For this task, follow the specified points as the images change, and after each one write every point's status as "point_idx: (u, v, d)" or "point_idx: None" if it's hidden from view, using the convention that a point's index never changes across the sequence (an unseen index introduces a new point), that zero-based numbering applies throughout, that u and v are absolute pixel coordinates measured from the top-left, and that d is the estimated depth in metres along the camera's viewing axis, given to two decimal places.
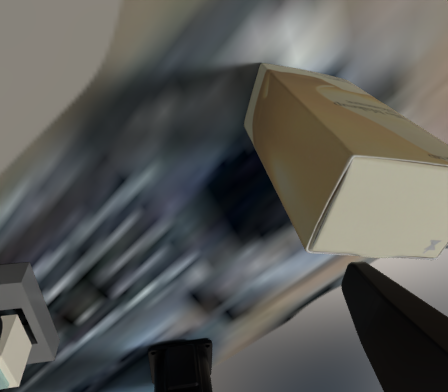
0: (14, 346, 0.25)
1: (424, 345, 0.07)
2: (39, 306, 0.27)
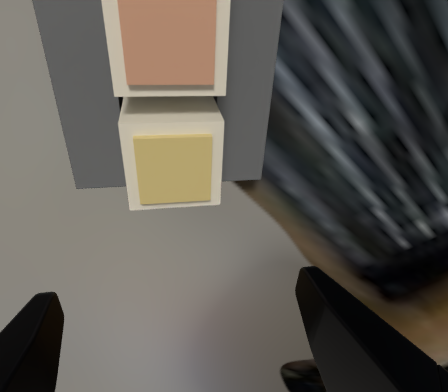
0: None
1: (361, 355, 0.07)
2: None
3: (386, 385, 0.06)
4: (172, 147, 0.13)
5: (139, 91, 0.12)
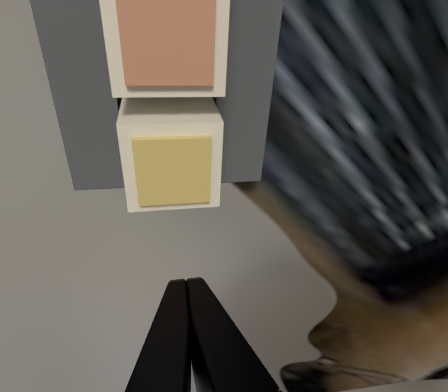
0: None
1: (208, 377, 0.06)
2: None
3: None
4: (171, 148, 0.13)
5: (137, 92, 0.12)
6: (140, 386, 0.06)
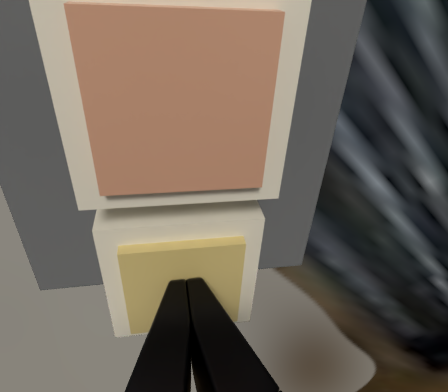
0: None
1: (207, 377, 0.06)
2: None
3: None
4: (181, 261, 0.08)
5: (125, 200, 0.07)
6: (140, 386, 0.06)
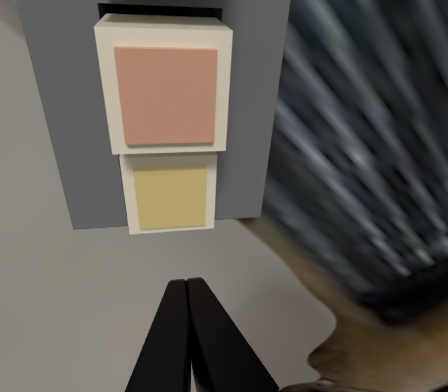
0: None
1: (207, 377, 0.06)
2: None
3: None
4: (169, 178, 0.14)
5: (138, 149, 0.12)
6: (140, 386, 0.06)
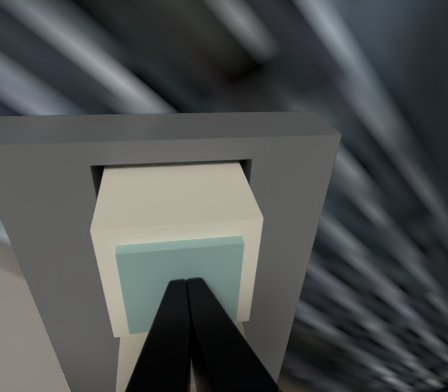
0: (149, 190, 0.09)
1: (208, 377, 0.06)
2: (133, 127, 0.10)
3: None
4: None
5: None
6: (140, 386, 0.06)
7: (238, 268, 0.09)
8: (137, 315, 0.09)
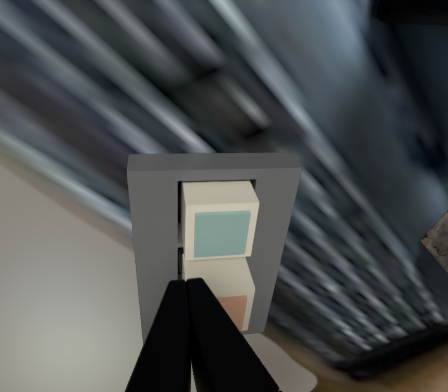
0: (206, 189, 0.19)
1: (207, 377, 0.06)
2: (197, 161, 0.20)
3: None
4: None
5: None
6: (140, 386, 0.06)
7: (247, 225, 0.19)
8: (199, 247, 0.19)
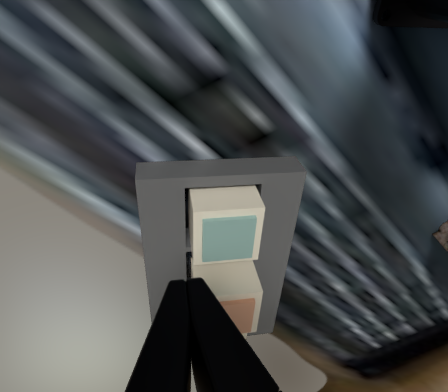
0: (213, 195, 0.19)
1: (207, 377, 0.06)
2: (203, 168, 0.20)
3: None
4: None
5: None
6: (140, 386, 0.06)
7: (254, 230, 0.19)
8: (207, 252, 0.19)
